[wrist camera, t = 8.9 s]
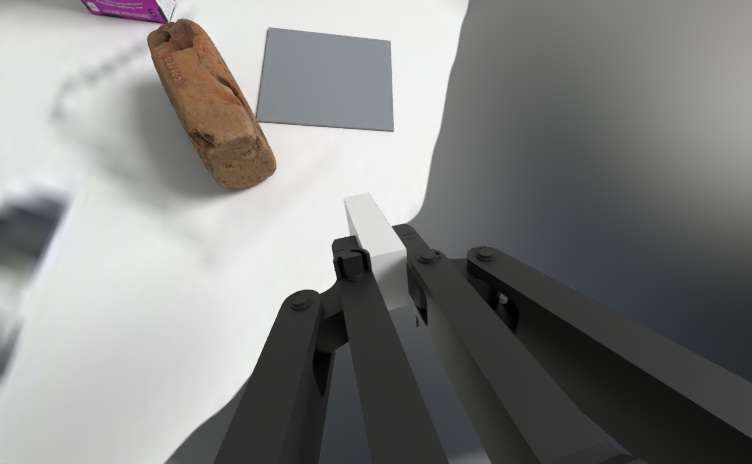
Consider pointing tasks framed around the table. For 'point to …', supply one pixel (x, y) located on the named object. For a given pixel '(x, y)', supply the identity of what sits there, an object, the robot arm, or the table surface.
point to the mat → (326, 81)
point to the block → (210, 105)
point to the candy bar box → (134, 9)
